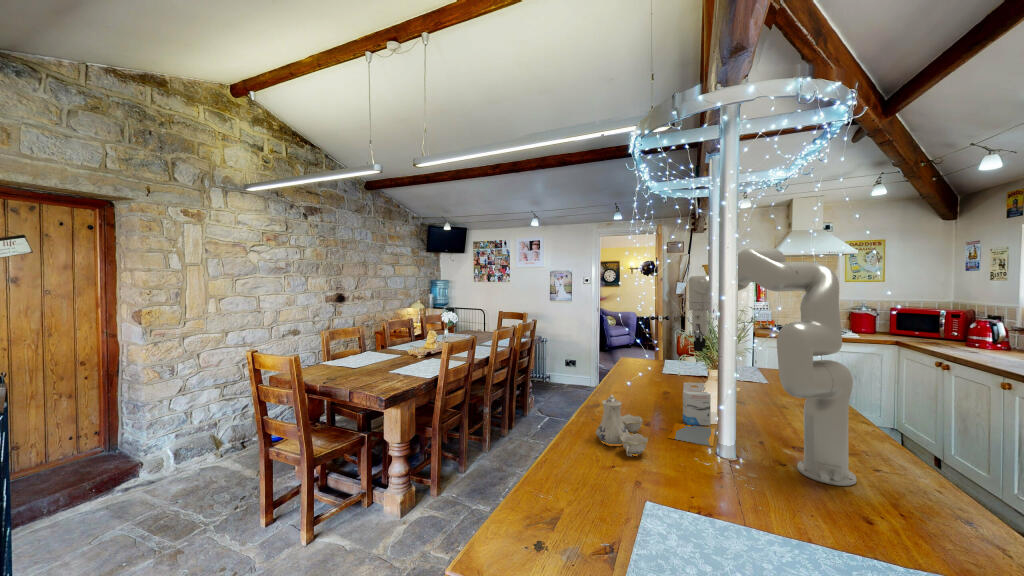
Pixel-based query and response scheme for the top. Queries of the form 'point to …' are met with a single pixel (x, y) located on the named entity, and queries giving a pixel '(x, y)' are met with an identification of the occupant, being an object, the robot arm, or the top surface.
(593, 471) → the top surface
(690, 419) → the ink box
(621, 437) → the chinaware
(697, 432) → the mat
